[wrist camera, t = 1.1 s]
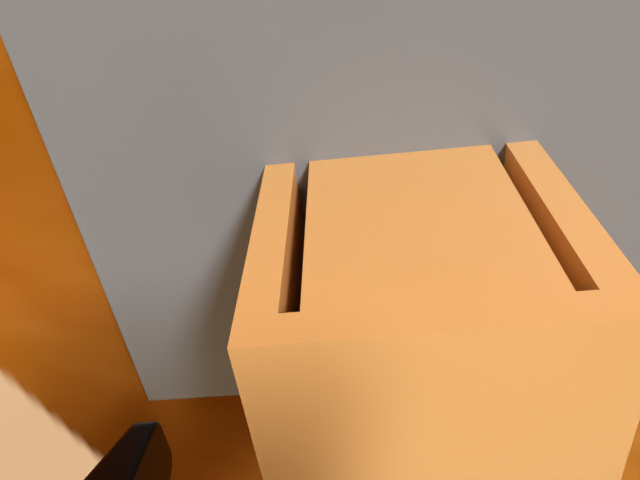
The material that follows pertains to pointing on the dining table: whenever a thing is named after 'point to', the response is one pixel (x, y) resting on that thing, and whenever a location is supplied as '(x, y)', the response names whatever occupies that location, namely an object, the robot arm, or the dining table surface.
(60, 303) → the dining table surface
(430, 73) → the grey base plate
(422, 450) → the orange grooved cube
